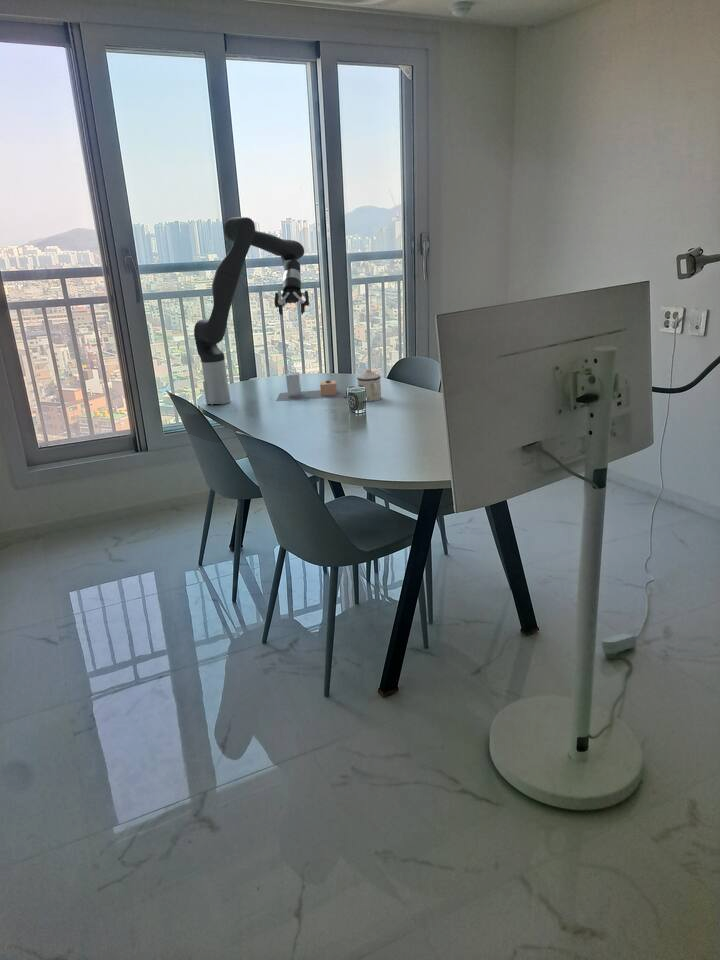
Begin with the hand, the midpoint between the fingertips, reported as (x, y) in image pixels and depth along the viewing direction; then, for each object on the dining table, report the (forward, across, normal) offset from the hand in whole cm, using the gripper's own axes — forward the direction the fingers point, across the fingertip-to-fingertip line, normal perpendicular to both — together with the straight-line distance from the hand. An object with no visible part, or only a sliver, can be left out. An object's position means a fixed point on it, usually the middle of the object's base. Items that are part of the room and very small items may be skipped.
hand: (291, 313), depth 271 cm
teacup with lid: (+42, +31, +3) cm, 52 cm away
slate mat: (+33, +7, +12) cm, 36 cm away
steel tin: (+32, 0, +12) cm, 35 cm away
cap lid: (+32, +14, +12) cm, 37 cm away
